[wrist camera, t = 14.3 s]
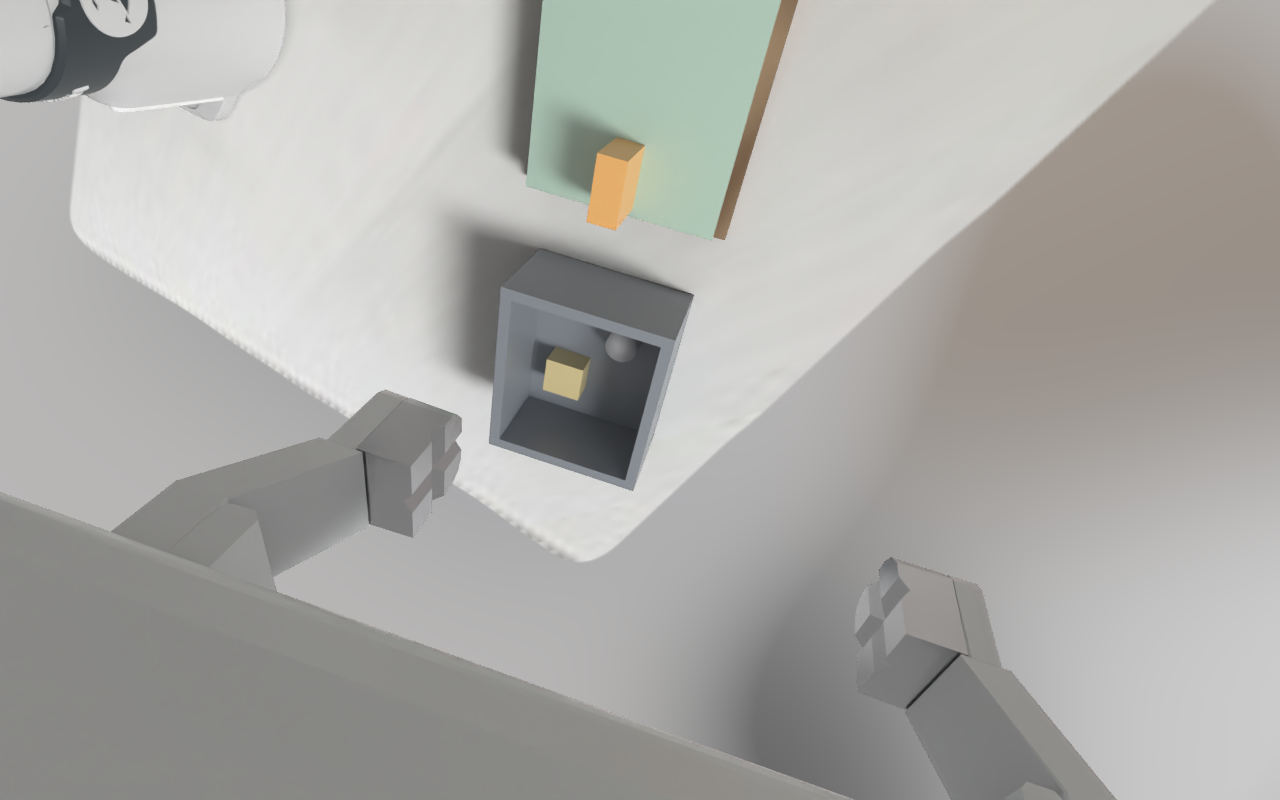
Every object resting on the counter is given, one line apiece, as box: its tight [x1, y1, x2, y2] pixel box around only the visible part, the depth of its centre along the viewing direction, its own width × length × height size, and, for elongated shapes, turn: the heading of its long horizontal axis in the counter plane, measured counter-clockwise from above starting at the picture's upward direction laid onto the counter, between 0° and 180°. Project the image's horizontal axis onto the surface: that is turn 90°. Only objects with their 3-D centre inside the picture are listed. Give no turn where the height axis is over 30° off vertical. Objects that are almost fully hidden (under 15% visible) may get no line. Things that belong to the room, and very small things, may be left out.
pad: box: [713, 0, 798, 240], centre depth 37 cm, size 14×16×1 cm
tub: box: [489, 249, 694, 491], centre depth 47 cm, size 12×14×7 cm
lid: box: [526, 0, 781, 241], centre depth 35 cm, size 13×15×6 cm
